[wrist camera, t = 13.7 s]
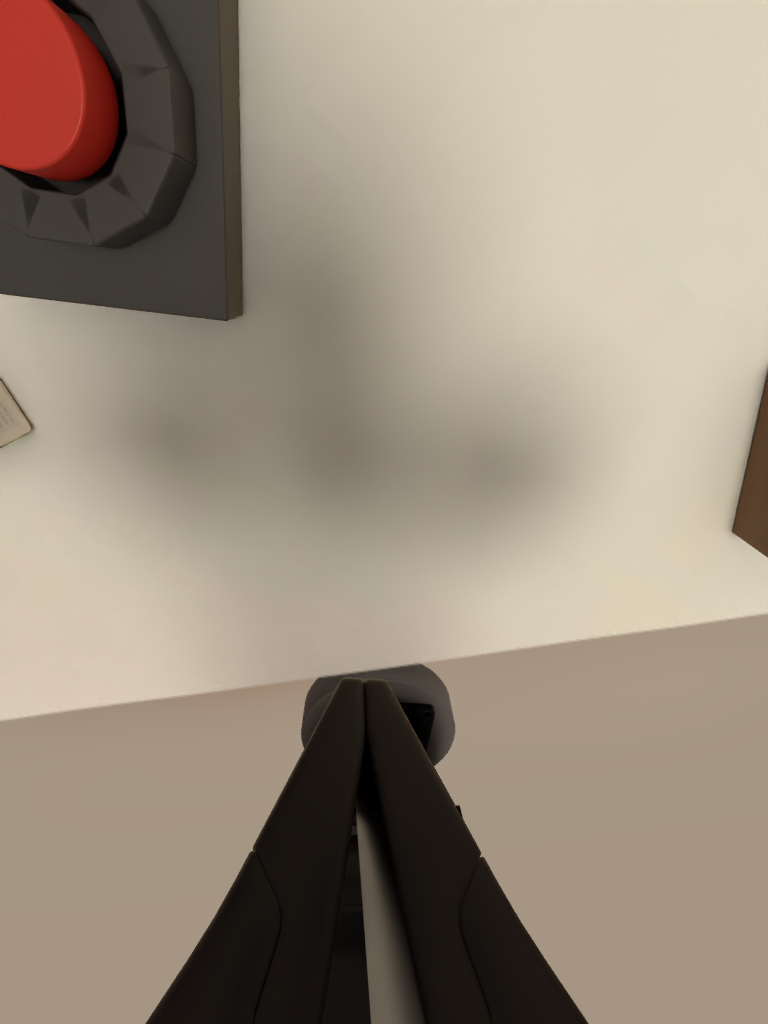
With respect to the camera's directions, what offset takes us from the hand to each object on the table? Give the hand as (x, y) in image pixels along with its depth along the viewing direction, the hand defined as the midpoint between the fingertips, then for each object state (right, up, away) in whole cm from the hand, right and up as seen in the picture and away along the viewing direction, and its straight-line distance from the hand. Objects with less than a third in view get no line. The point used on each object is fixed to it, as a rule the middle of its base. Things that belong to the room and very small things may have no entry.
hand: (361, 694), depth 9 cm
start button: (-8, +14, +3) cm, 16 cm away
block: (-8, +15, +6) cm, 19 cm away
